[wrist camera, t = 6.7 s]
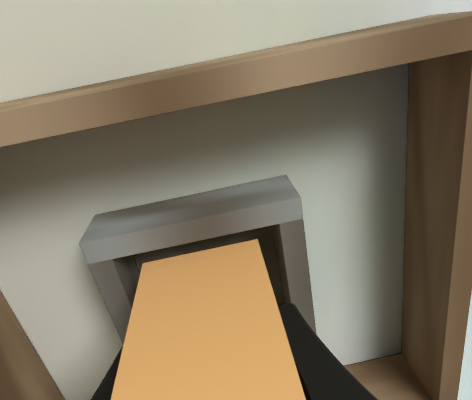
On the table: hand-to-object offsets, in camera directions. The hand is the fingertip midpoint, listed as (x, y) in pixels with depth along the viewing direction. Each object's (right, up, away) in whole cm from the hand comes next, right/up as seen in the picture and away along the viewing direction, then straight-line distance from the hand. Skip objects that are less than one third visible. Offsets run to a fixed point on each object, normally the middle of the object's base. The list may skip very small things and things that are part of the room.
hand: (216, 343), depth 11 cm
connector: (0, +1, +2) cm, 2 cm away
